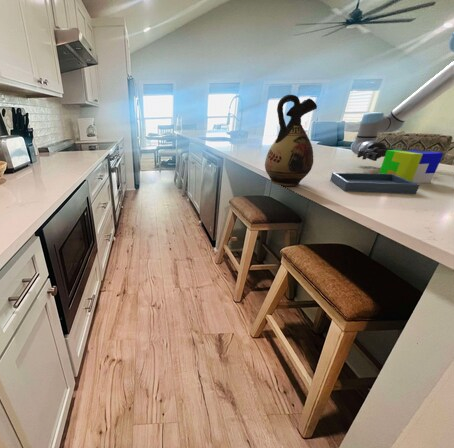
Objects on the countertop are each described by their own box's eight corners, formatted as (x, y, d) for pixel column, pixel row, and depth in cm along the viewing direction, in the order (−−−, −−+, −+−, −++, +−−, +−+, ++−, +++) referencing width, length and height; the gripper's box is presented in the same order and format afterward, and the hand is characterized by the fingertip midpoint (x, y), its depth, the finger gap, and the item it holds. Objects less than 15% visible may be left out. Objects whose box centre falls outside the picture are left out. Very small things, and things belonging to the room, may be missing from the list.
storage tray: (390, 182, 86) (393, 173, 85) (415, 194, 74) (419, 184, 73) (330, 180, 92) (332, 172, 91) (344, 191, 79) (346, 182, 78)
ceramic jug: (296, 178, 97) (313, 94, 85) (316, 188, 83) (340, 90, 71) (253, 178, 99) (263, 96, 87) (265, 189, 85) (279, 93, 73)
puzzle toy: (430, 182, 84) (443, 153, 80) (401, 183, 84) (412, 154, 80) (404, 175, 93) (414, 149, 89) (377, 176, 93) (386, 150, 89)
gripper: (403, 158, 109) (435, 168, 90) (338, 157, 116) (356, 166, 98) (409, 141, 105) (444, 147, 87) (342, 141, 113) (362, 147, 95)
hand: (398, 157), depth 92 cm, fingers open, 13 cm apart
